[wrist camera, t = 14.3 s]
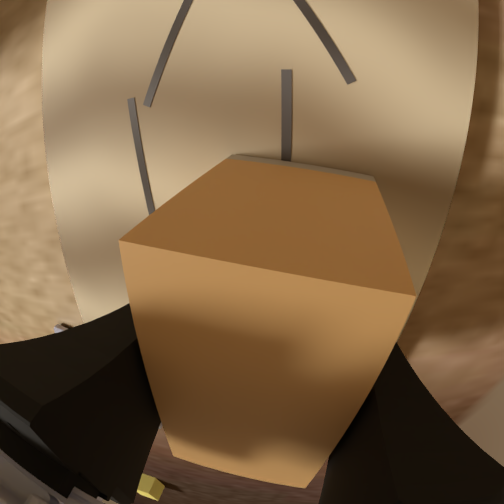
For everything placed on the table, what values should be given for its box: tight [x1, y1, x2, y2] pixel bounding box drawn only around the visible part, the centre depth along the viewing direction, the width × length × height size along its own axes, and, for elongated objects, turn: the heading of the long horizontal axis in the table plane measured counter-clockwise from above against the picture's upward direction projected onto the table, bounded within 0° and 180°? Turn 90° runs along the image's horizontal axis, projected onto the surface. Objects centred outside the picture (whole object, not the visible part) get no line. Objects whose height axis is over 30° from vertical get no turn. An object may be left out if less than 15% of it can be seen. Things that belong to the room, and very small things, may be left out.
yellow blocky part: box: [137, 474, 165, 501], centre depth 39 cm, size 32×32×3 cm
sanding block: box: [118, 154, 416, 488], centre depth 9 cm, size 8×4×6 cm, turn 176°
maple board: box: [42, 0, 479, 342], centre depth 10 cm, size 22×16×2 cm
